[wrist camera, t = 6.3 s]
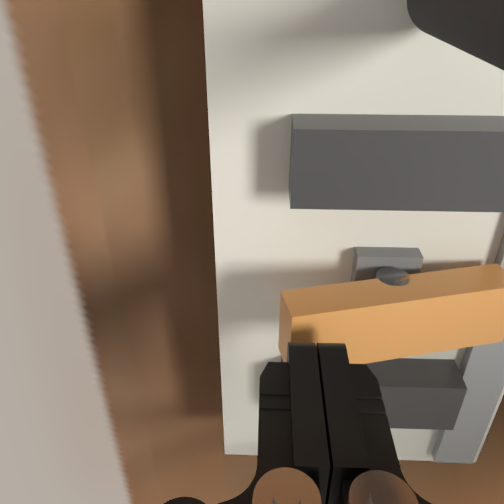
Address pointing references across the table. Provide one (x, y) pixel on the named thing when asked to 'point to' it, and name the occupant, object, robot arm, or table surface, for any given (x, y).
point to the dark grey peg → (464, 25)
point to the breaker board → (351, 194)
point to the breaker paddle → (398, 313)
